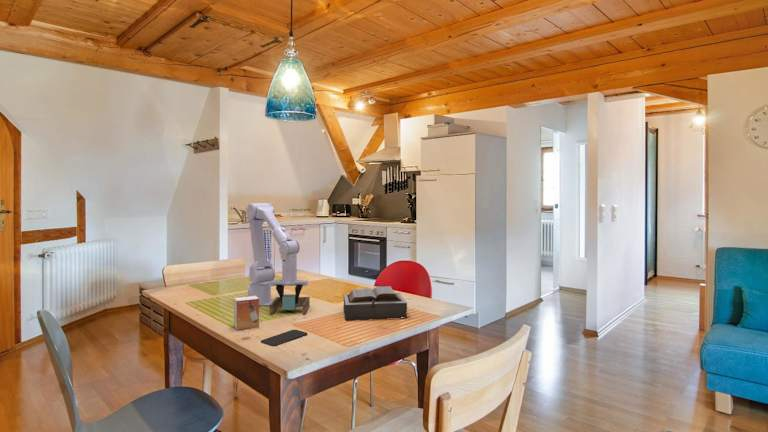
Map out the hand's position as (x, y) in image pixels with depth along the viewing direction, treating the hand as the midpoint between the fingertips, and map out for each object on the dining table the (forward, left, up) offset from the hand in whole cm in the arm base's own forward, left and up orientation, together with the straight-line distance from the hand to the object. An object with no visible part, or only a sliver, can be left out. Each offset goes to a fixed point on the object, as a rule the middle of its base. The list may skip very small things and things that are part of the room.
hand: (289, 303), depth 177 cm
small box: (-12, -20, -4) cm, 23 cm away
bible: (+34, -3, -4) cm, 35 cm away
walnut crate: (0, +2, -3) cm, 4 cm away
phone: (+4, -33, -4) cm, 33 cm away
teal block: (0, 0, -2) cm, 2 cm away
